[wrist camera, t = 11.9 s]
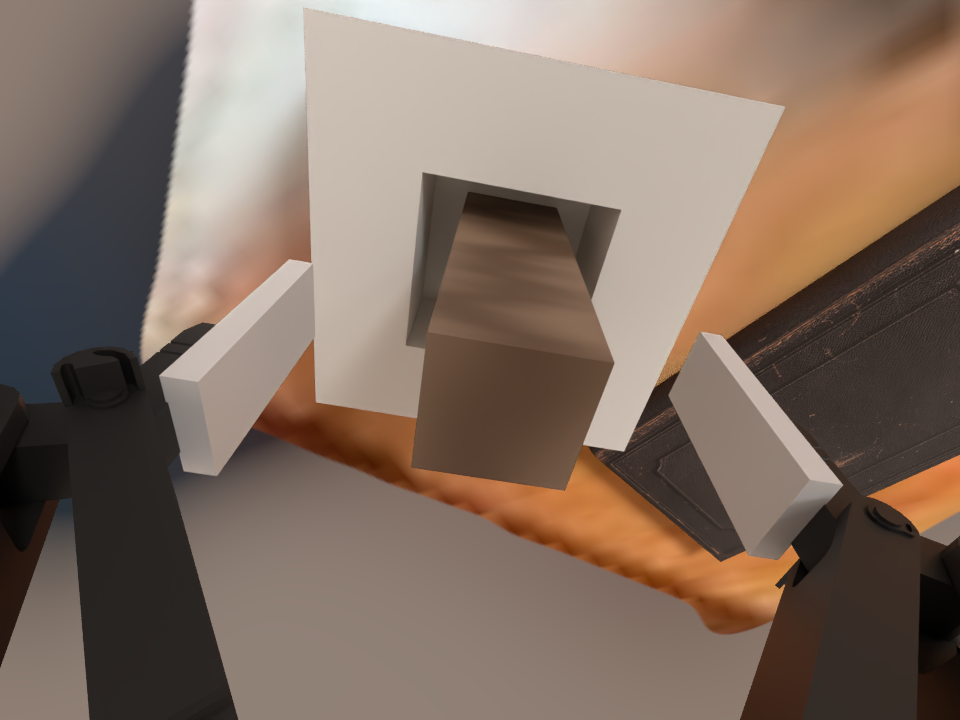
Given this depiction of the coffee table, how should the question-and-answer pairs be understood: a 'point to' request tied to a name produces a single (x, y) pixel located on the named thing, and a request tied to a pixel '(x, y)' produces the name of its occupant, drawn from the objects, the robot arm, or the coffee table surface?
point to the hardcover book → (834, 377)
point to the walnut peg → (510, 351)
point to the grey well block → (506, 196)
